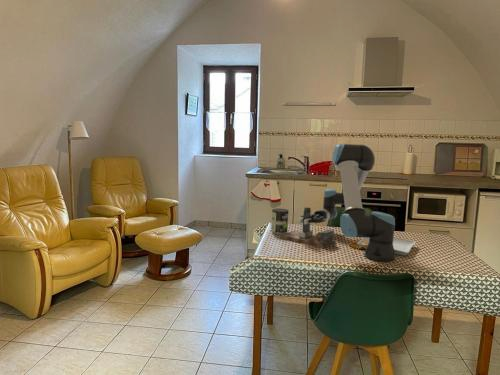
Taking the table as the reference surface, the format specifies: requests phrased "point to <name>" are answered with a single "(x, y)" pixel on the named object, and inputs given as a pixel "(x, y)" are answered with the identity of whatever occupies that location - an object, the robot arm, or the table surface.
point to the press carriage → (306, 227)
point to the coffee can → (279, 221)
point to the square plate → (395, 245)
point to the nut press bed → (312, 238)
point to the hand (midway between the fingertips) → (301, 221)
